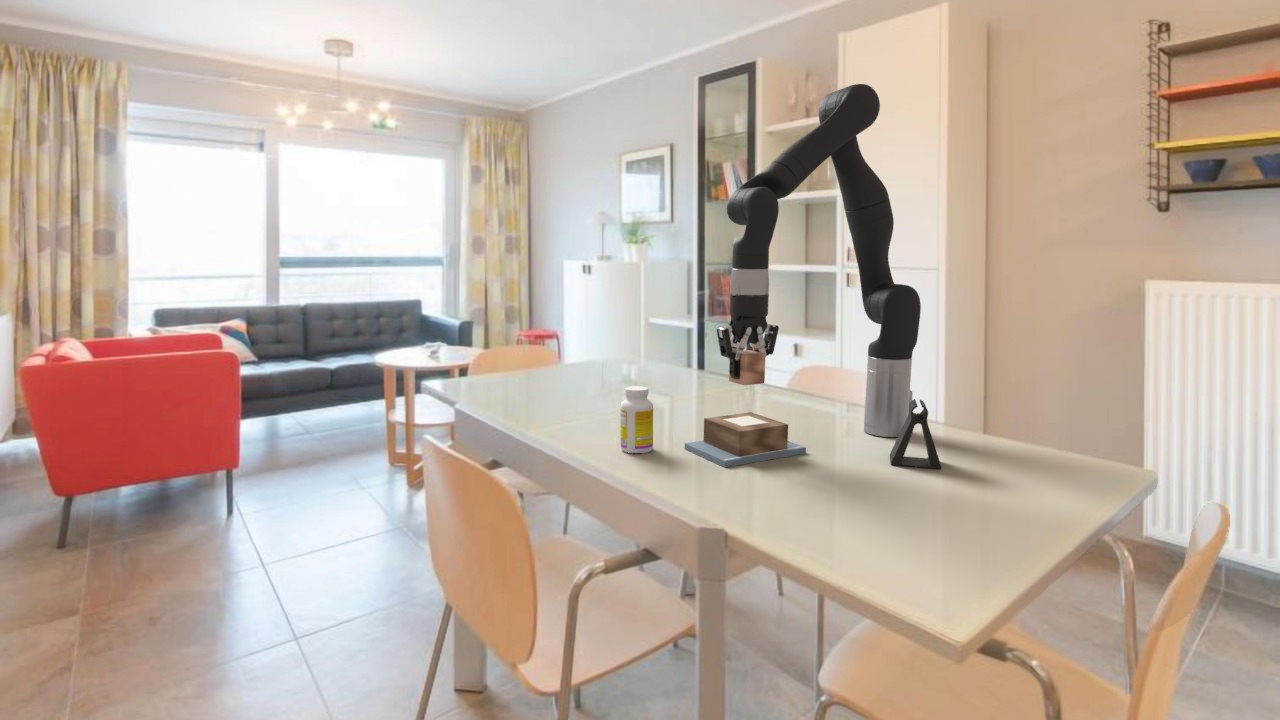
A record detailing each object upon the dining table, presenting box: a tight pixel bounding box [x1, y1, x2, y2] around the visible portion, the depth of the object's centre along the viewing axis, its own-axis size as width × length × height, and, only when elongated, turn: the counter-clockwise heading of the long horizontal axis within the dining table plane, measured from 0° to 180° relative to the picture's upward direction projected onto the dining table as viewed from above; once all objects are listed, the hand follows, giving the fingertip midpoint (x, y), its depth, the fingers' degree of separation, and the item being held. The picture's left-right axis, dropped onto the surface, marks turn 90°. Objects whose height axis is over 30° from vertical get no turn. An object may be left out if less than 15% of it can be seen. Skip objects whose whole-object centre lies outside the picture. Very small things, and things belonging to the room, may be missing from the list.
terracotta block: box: [728, 349, 766, 386], centre depth 141 cm, size 5×5×6 cm
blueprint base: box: [684, 412, 807, 468], centre depth 143 cm, size 20×14×6 cm
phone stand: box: [889, 399, 942, 471], centre depth 135 cm, size 9×6×12 cm, turn 73°
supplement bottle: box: [619, 385, 654, 454], centre depth 143 cm, size 7×7×13 cm
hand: (746, 376), depth 141 cm, fingers closed on terracotta block, 5 cm apart
